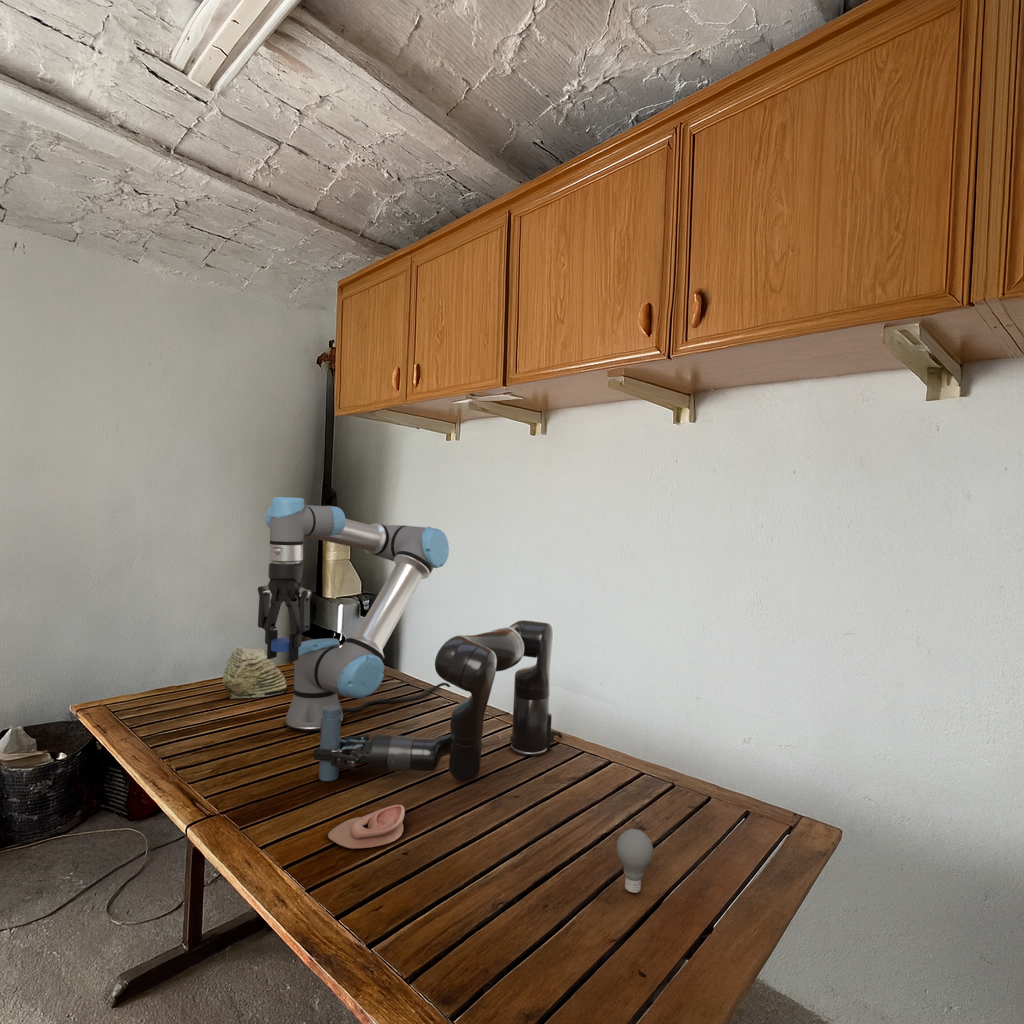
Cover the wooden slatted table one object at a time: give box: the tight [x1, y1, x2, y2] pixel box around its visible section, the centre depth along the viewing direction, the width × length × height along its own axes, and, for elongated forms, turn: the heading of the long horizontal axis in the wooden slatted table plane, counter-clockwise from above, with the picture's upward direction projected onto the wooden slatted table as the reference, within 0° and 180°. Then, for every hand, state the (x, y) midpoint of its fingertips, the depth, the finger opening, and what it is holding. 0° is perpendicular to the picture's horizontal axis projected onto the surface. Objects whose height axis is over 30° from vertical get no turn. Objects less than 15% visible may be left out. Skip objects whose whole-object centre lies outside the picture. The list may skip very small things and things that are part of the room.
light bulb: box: [615, 828, 654, 894], centre depth 106 cm, size 6×6×10 cm
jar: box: [318, 705, 342, 782], centre depth 143 cm, size 4×4×16 cm
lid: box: [271, 637, 289, 653], centre depth 151 cm, size 5×5×2 cm
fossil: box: [222, 646, 288, 699], centre depth 198 cm, size 9×18×15 cm, turn 132°
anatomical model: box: [327, 804, 406, 849], centre depth 120 cm, size 13×4×12 cm
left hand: (282, 659), depth 151 cm, fingers closed on lid, 5 cm apart
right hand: (318, 749), depth 143 cm, fingers closed on jar, 4 cm apart
